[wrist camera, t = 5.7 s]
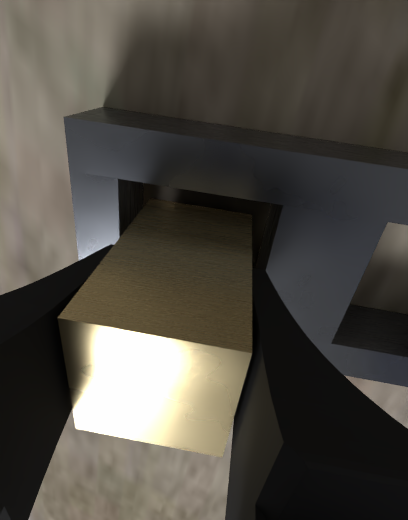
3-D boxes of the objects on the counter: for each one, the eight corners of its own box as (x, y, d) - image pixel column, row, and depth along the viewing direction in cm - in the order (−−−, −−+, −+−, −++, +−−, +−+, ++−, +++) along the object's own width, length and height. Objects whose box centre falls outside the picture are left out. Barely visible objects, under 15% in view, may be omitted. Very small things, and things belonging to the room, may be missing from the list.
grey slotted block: (579, 178, 12) (672, 209, 9) (450, 349, 16) (487, 401, 14) (102, 107, 12) (63, 116, 10) (110, 289, 17) (85, 327, 15)
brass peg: (252, 214, 12) (252, 353, 6) (234, 295, 14) (222, 457, 8) (150, 198, 12) (57, 317, 6) (147, 281, 15) (75, 428, 9)
